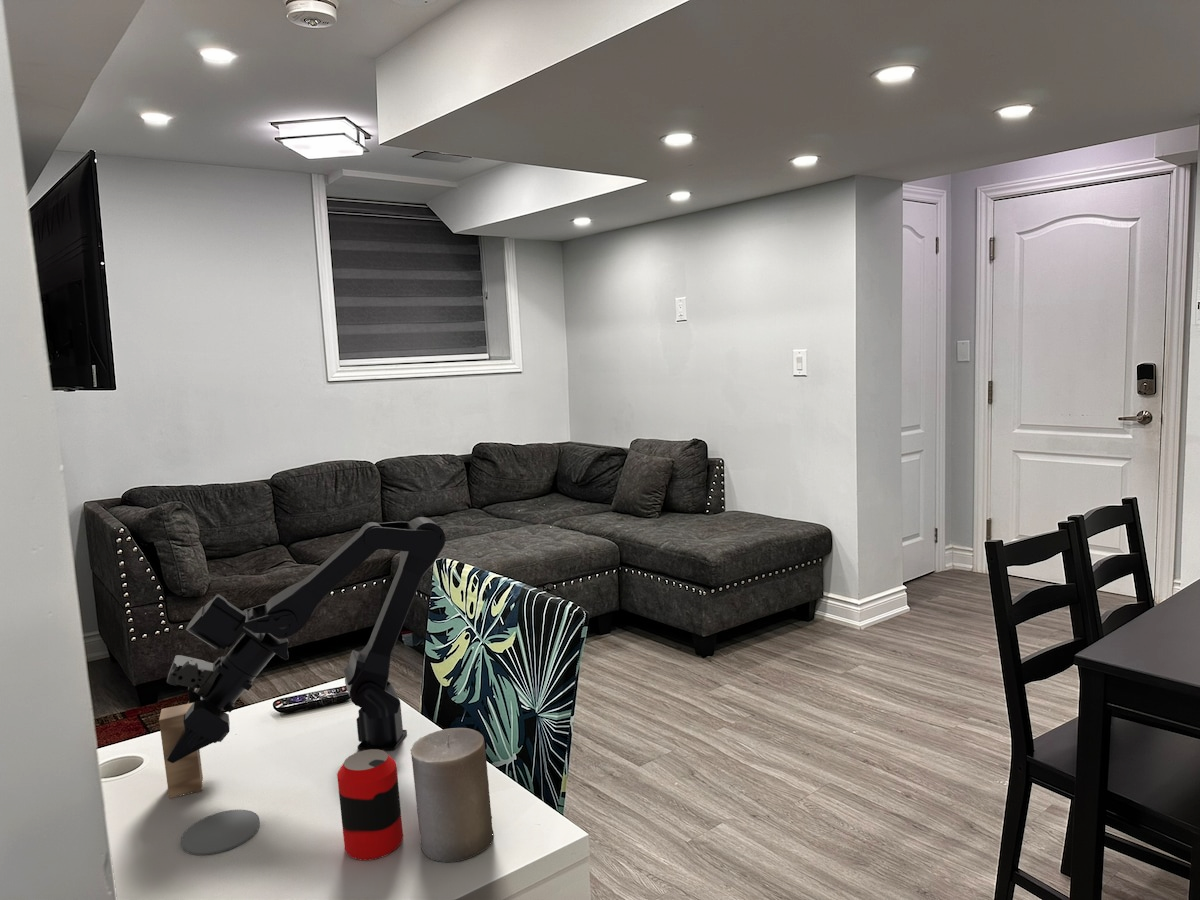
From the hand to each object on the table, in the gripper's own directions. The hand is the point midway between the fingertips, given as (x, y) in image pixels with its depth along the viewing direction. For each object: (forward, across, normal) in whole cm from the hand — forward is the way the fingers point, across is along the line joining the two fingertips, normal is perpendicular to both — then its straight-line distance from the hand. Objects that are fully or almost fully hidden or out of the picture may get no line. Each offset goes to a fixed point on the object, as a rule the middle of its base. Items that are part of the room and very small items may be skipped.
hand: (171, 748), depth 129 cm
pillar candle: (-20, +35, +30) cm, 50 cm away
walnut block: (+4, 0, +6) cm, 7 cm away
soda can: (-13, +30, +23) cm, 40 cm away
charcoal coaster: (0, +17, +9) cm, 19 cm away
